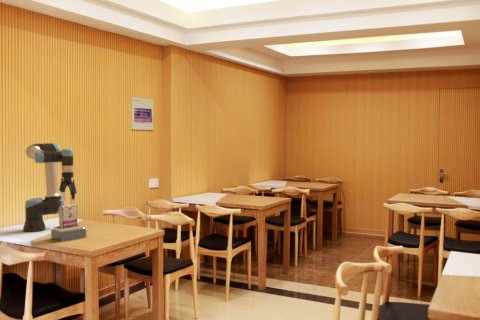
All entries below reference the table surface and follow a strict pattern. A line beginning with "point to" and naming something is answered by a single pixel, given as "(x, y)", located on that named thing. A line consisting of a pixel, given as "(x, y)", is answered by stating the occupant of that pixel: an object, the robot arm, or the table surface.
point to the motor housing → (68, 233)
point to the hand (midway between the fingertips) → (67, 202)
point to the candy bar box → (67, 216)
